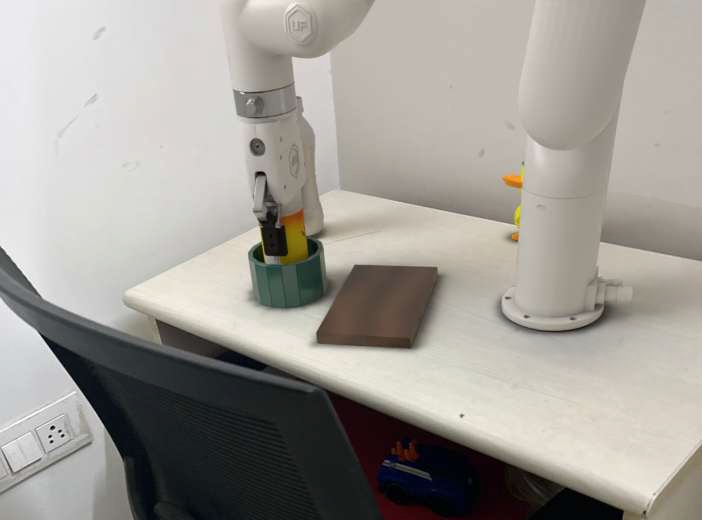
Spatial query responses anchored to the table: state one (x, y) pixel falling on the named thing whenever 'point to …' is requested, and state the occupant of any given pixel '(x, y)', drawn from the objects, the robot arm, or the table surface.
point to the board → (379, 306)
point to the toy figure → (517, 183)
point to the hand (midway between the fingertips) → (284, 243)
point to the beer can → (291, 231)
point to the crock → (289, 277)
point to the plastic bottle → (309, 177)
